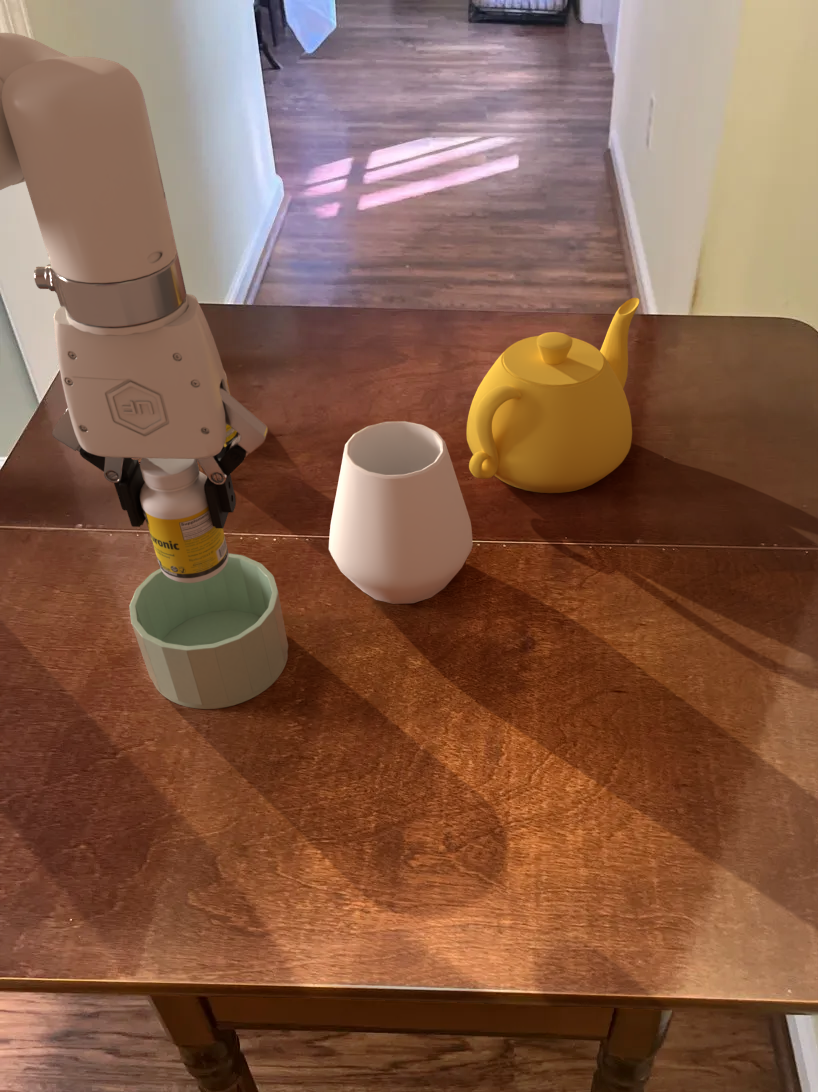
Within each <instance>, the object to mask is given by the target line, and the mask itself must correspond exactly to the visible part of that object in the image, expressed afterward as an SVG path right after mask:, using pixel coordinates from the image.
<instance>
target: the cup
mask: <svg viewBox="0 0 818 1092" xmlns="http://www.w3.org/2000/svg"><path fill="white" fill-rule="evenodd" d="M330 519H331V520H330V525H329V528H330V529H329V539H328V551H329V553H330V555H331V557H332V559H333V561H334V562H335V564H336V566H337V568H338V570H339V571H340V572H341V573H342V574H343V575H344V576H345V577H346V578H347V579H348V580H349V581H350V582H351V583H352V584H354V585H355V587H357V588H358V589H359V590H361V591H362V592H363V593H365V594H366V595H368V596H369V597H370V598H372V599H374V600H375V601H379V602H384V603H387V604H392V605H402V604H403V605H404V604H415V603H418V602H421V601H425V600H428V599H431V598H432V597H434V596H436V595H437V594H438V593H440V592H441V591H442V590H444V589H445V588H446V587H447V586H448V584H449V583H450V582H452V580H453V579H454V578H455V576H456V575H457V574H458V573H459V572H460V571H461V569H462V568H463V566H464V564H465V563H466V561H467V560H468V557H469V556H470V554H471V552H472V549H473V546H474V544H473V543H474V541H473V531H472V523H471V517H470V515H469V512H468V508H467V506H466V502H465V500H464V496H463V493H462V490H461V487H460V484H459V481H458V478H457V475H456V472H455V468H454V465H453V461H452V459H451V456H450V453H449V450H448V446H447V443H446V441H445V440H444V439H443V437H442V436H441V435H440V434H439V432H438V431H436V430H434V429H433V428H430V427H428V426H426V425H424V424H421V423H415V422H412V421H411V422H410V421H405V420H402V421H401V420H399V421H383V422H380V423H375V424H372V425H367V426H366V427H364V428H361V429H360V430H359V431H357V432H354V433H353V434H352V436H350V438H349V439H348V440H347V442H346V443H345V444H344V448H343V454H342V460H341V465H340V472H339V476H338V482H337V487H336V493H335V498H334V503H333V509H332V515H331V518H330Z"/></svg>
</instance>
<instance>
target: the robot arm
mask: <svg viewBox="0 0 818 1092" xmlns="http://www.w3.org/2000/svg"><path fill="white" fill-rule="evenodd" d="M21 183H25V186H26V188H27V192H28V195H29V199H30V201H31V205H32V209H33V210H34V214H35V217H36V221H37V224H38V227H39V230H40V234H41V238H42V241H43V244H44V247H45V250H46V252H47V257H48V261H49V264H47V265H46V266H35V268H34V269H33V270H34V271H33V279H34V283H35V285H36V287H37V288H38V289H40V290H49V291H50V292H55V294H56V297H57V300H58V302H59V305H60V307H58V308H57V310H56V311H55V312H54V314H53V328H54V329H53V331H54V340H55V347H56V348H55V349H56V356H57V362H58V368H59V374H60V379H61V384H62V389H63V394H64V398H65V403H66V406H67V407H66V409H65V410H64V412H63V413H62V415H61V416H60V418H59V419H58V421H57V423H56V424H55V426H54V428H53V429H52V431H51V434H52V437H53V438H54V439H55V440H56V441H58V442H60V443H61V444H63V445H65V446H66V447H68V448H69V449H71V450H73V451H75V452H76V451H77V452H78V453H79V455H80V456H81V457H82V458H83V459H84V460H85V461H87V462H88V463H90V464H91V465H93V466H94V467H96V468H97V469H99V470H100V471H101V472H103V477H104V478H105V480H106V481H108V482H109V483H111V484H112V483H113V484H114V488H115V491H116V494H117V497H118V501H119V502H120V503H119V504H120V507H121V509H122V510H123V511H126V512H127V515H128V519H129V522H130V525H131V527H133V528H141V526H143V525H144V523H145V522H146V519H145V516H144V513H143V510H142V506H141V502H140V491H141V488H142V486H143V485H144V483H145V481H144V479H143V476H142V472H141V468H140V461H139V459H142V458H158V459H197V463H198V465H200V467H201V468H202V470H203V473H204V474H205V475H206V476H207V479H206V482H205V484H204V491H205V495H206V499H207V504H208V508H209V512H210V516H211V521H212V525H213V526H214V527H215V528H223V529H224V527H225V524H226V522H227V519H228V517H229V513H234V511H235V509H236V503H237V500H236V499H237V498H236V494H235V489H234V484H233V480H232V475H231V474H232V473H233V472H234V471H235V470H236V469H237V468H238V467H239V466H240V465H241V464H242V463H243V462H244V461H245V459H246V458H247V457H248V456H249V455H251V454H252V453H253V452H254V451H256V450H257V449H258V448H260V447H261V446H262V445H264V443H265V441H266V439H267V435H268V432H269V428H268V426H267V424H265V423H264V422H262V421H261V420H260V419H259V418H258V417H256V416H255V415H254V414H253V413H252V412H251V411H250V410H249V409H248V408H246V407H245V406H244V405H242V403H241V402H239V401H238V400H237V399H236V398H235V397H233V395H232V394H231V391H230V392H229V390H230V387H229V388H228V384H229V383H228V384H227V380H226V376H227V375H226V376H225V373H226V372H225V373H224V371H225V370H224V366H223V362H222V359H221V356H220V353H219V350H218V346H217V344H216V341H215V338H214V336H213V333H212V330H211V327H210V326H209V322H208V320H207V318H206V316H205V314H204V311H203V310H202V307H201V305H200V303H199V301H198V299H197V297H196V296H195V295H194V294H191V293H187V290H186V285H185V281H184V277H183V271H182V265H181V262H180V256H179V252H178V249H177V243H176V240H175V234H174V229H173V225H172V220H171V216H170V212H169V211H170V210H169V206H168V202H167V197H166V192H165V188H164V183H163V178H162V173H161V169H160V164H159V160H158V155H157V150H156V145H155V142H154V136H153V132H152V126H151V123H150V118H149V113H148V107H147V104H146V99H145V96H144V91H143V89H142V86H141V85H140V82H139V81H138V79H137V77H136V76H135V75H134V74H133V73H132V71H131V70H129V69H128V68H127V67H125V66H124V65H122V64H120V63H119V62H116V61H113V60H110V59H106V58H101V57H95V56H69V55H67V54H65V53H63V52H60V51H59V50H56V49H54V48H52V47H50V46H48V45H46V44H45V43H42V42H40V41H38V40H36V39H33V38H31V37H29V36H25V35H22V34H17V33H14V32H13V33H12V32H0V191H3V190H4V189H6V188H8V187H11V186H15V185H19V184H21ZM230 394H231V395H230ZM226 425H229V426H231V427H232V428H233V429H234V430H235V431H237V432H238V435H239V436H238V437H235V438H234V439H233V440H232V441H231V442H230V443H229V444H228V445H226V443H225V440H226Z"/></svg>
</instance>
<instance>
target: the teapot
mask: <svg viewBox="0 0 818 1092" xmlns="http://www.w3.org/2000/svg"><path fill="white" fill-rule="evenodd" d="M639 305H640V299H639V298H638V297H632V298H629V299H628V300H626V301H625V302H624V303H622V304H621V305H620V306H619V307H618V309H617V310H616V312H615V314H614V316H613V317H612V320H611V322H610V324H609V327H608V329H607V332H606V334H605V337H604V340H603V343H602V345H601V348H600V350H599V349H598V348H597V347H596V346H594V345H592V344H591V343H589V342H587V341H585V340H582V339H579V338H575V337H572V336H570V335H569V334H566V333H563V332H558V331H549V332H544V333H542V334H540V335H536V336H530V337H526V338H523V339H521V340H518V341H516V342H514V343H513V344H511V345H510V346H508V347H507V348H506V349H505V350H504V351H503V352H502V353H501V354H500V355H499V356H498V358H497V359H496V360H495V361H494V363H493V364H492V365H491V367H490V368H489V370H488V371H487V372H486V374H485V376H484V377H483V379H482V381H481V382H480V383H479V386H478V387H477V389H476V392H475V394H474V396H473V398H472V401H471V404H470V408H469V411H468V415H467V422H466V433H465V434H466V441H467V444H468V447H469V450H470V452H471V453H472V456H471V458H470V460H469V463H468V469H469V471H470V474H471V475H472V476H473V477H474V478H476V479H480V480H487V479H491V478H493V477H495V478H496V479H498V480H499V481H501V482H503V483H505V484H507V485H508V486H511V487H514V488H516V489H521V490H523V491H528V492H532V493H541V494H563V493H570V492H575V491H578V490H579V491H580V490H582V489H585V488H587V487H590V486H592V485H594V484H596V483H598V482H599V481H600V480H602V479H604V478H606V476H608V475H609V474H611V473H612V472H613V471H615V470H616V469H617V468H618V467H619V466H620V465H621V464H623V462H624V461H625V459H626V457H627V455H628V454H629V452H630V450H631V447H632V441H633V440H632V438H633V425H632V415H631V408H630V405H629V402H628V398H627V396H626V393H625V390H624V388H625V385H626V383H627V378H628V374H629V373H628V372H629V346H628V345H629V344H628V343H629V331H630V326H631V324H632V320H633V318H634V316H635V314H636V312H637V310H638V308H639Z"/></svg>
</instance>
